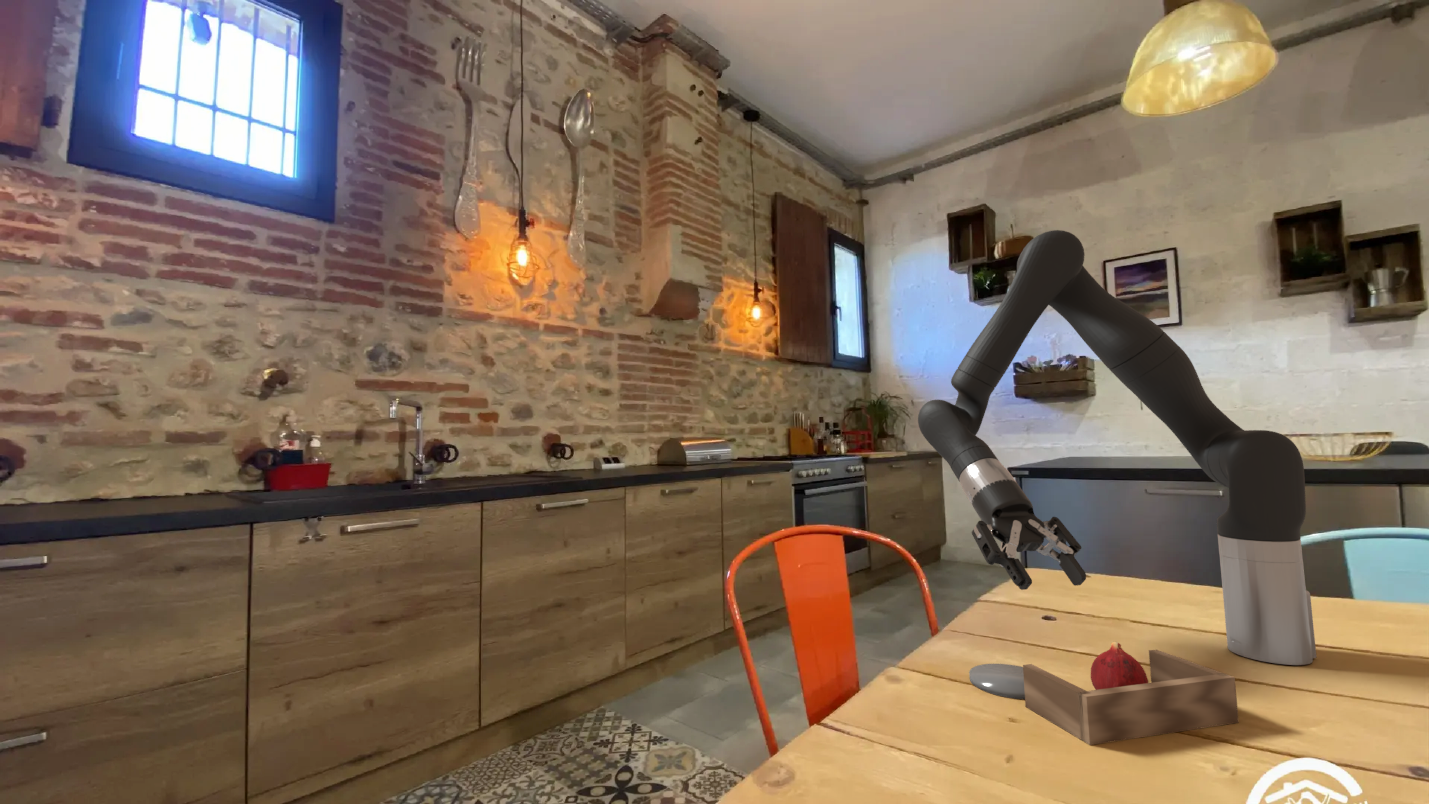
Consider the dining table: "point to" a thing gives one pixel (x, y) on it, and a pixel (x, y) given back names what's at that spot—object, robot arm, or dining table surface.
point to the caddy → (1136, 701)
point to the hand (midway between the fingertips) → (1054, 584)
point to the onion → (1116, 669)
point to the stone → (999, 679)
